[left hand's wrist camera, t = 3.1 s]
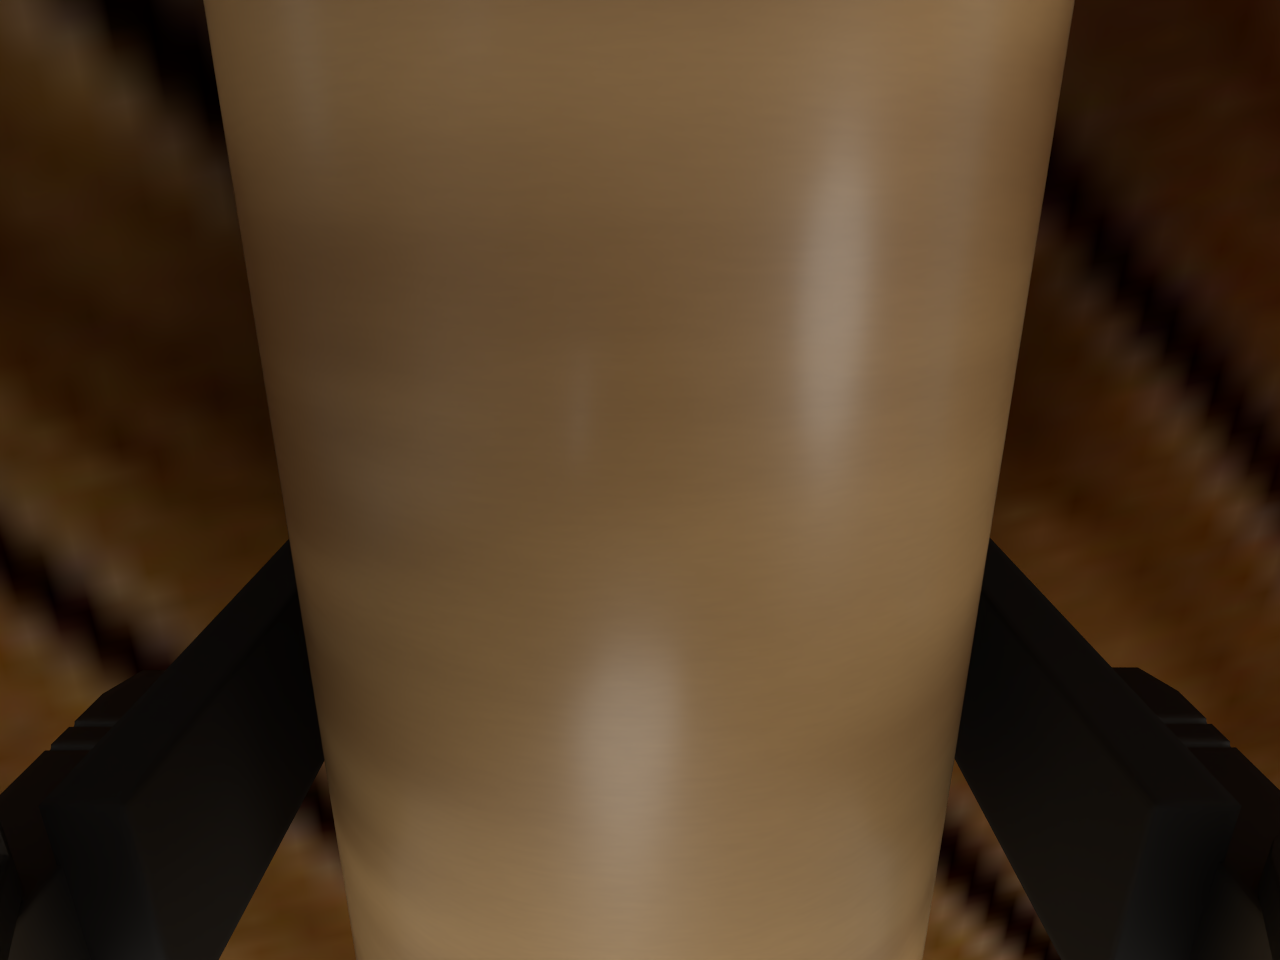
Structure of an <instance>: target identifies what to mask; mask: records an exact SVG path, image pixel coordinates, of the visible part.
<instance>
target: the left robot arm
mask: <svg viewBox="0 0 1280 960" xmlns="http://www.w3.org/2000/svg"><path fill="white" fill-rule="evenodd" d="M955 760H956V762H957V764H958V766H959V768H960V770H961V771H962V773H963V775H964V777H965V779H966V781H967V783H968V785H969V787H970V788H971V790H972V792H973V794H974V796H975V798H976V800H977V802H978V803H979V805H980V807H981V809H982V811H983V813H984V815H985V817H986V819H987V820H988V822H989V824H990V826H991V828H992V830H993V832H994V834H995V836H996V837H997V839H998V841H999V843H1000V845H1001V847H1002V849H1003V851H1004V852H1005V854H1006V856H1007V858H1008V860H1009V862H1010V864H1011V866H1012V868H1013V869H1014V871H1015V873H1016V875H1017V877H1018V879H1019V881H1020V883H1021V884H1022V886H1023V888H1024V890H1025V892H1026V894H1027V896H1028V898H1029V900H1030V901H1031V903H1032V905H1033V907H1034V909H1035V911H1036V913H1037V915H1038V917H1039V918H1040V920H1041V922H1042V924H1043V926H1044V928H1045V930H1046V932H1047V933H1048V935H1049V937H1050V939H1051V941H1052V943H1053V945H1054V947H1055V949H1056V950H1057V952H1058V954H1059V956H1060V958H1061V960H1280V790H1279V789H1278V788H1277V787H1276V786H1275V785H1274V784H1273V783H1272V782H1271V781H1270V780H1269V779H1268V778H1266V777H1265V776H1264V775H1263V774H1262V773H1261V772H1260V771H1259V770H1258V769H1257V768H1256V767H1255V766H1254V765H1253V764H1252V763H1251V762H1250V761H1249V760H1248V759H1247V758H1246V757H1245V756H1244V755H1243V754H1242V753H1241V752H1240V751H1239V750H1238V749H1237V748H1231V747H1230V741H1229V740H1228V739H1227V738H1226V737H1225V736H1223V735H1222V734H1221V733H1220V732H1219V731H1218V730H1217V729H1216V728H1215V727H1214V726H1213V725H1212V724H1207V723H1206V718H1205V717H1204V716H1203V715H1202V714H1201V713H1200V712H1199V711H1198V710H1197V709H1196V708H1195V707H1194V706H1193V705H1192V704H1191V703H1190V702H1189V701H1188V700H1187V699H1186V698H1185V697H1184V696H1183V695H1181V694H1180V693H1179V692H1178V691H1177V690H1175V689H1174V688H1172V687H1170V686H1168V685H1167V684H1165V683H1163V682H1162V681H1160V680H1158V679H1157V678H1155V677H1153V676H1151V675H1150V674H1148V673H1146V672H1145V671H1143V670H1141V669H1139V668H1112V667H1111V666H1110V665H1109V664H1108V663H1107V662H1106V661H1105V660H1104V659H1103V658H1102V657H1101V656H1100V655H1099V654H1098V652H1097V651H1096V650H1095V649H1094V648H1093V647H1092V646H1091V645H1090V644H1089V643H1088V642H1087V641H1086V640H1085V639H1084V638H1083V636H1082V635H1081V634H1080V633H1079V632H1078V631H1077V630H1076V629H1075V628H1074V627H1073V626H1072V625H1071V624H1070V623H1069V622H1068V621H1067V619H1066V618H1065V617H1064V616H1063V615H1062V614H1061V613H1060V612H1059V611H1058V610H1057V609H1056V608H1055V607H1054V606H1053V605H1052V603H1051V602H1050V601H1049V600H1048V599H1047V598H1046V597H1045V596H1044V595H1043V594H1042V593H1041V592H1040V591H1039V590H1038V589H1037V588H1036V586H1035V585H1034V584H1033V583H1032V582H1031V581H1030V580H1029V579H1028V578H1027V577H1026V576H1025V575H1024V574H1023V573H1022V572H1021V571H1020V569H1019V568H1018V567H1017V566H1016V565H1015V564H1014V563H1013V562H1012V561H1011V560H1010V559H1009V558H1008V557H1007V556H1006V555H1005V553H1004V552H1003V551H1002V550H1001V549H1000V548H999V547H998V546H997V545H996V544H995V543H994V542H993V541H992V540H991V539H990V538H989V543H988V550H987V556H986V562H985V569H984V575H983V581H982V587H981V594H980V600H979V606H978V613H977V619H976V625H975V632H974V638H973V644H972V650H971V657H970V663H969V669H968V676H967V682H966V688H965V695H964V701H963V707H962V713H961V720H960V726H959V732H958V739H957V745H956V751H955ZM323 762H324V754H323V747H322V741H321V735H320V728H319V722H318V716H317V710H316V703H315V697H314V691H313V685H312V678H311V672H310V666H309V659H308V653H307V647H306V641H305V634H304V628H303V622H302V616H301V609H300V603H299V597H298V590H297V584H296V578H295V572H294V565H293V559H292V553H291V547H290V540H288V541H287V542H286V543H285V544H284V545H283V546H282V547H281V548H280V549H279V550H278V551H277V552H276V553H275V555H274V556H273V557H272V558H271V559H270V560H269V561H268V562H267V563H266V564H265V565H264V566H263V567H262V568H261V569H260V570H259V572H258V573H257V574H256V575H255V576H254V577H253V578H252V579H251V580H250V581H249V582H248V583H247V584H246V585H245V586H244V588H243V589H242V590H241V591H240V592H239V593H238V594H237V595H236V596H235V597H234V598H233V599H232V600H231V601H230V602H229V603H228V605H227V606H226V607H225V608H224V609H223V610H222V611H221V612H220V613H219V614H218V615H217V616H216V617H215V618H214V619H213V621H212V622H211V623H210V624H209V625H208V626H207V627H206V628H205V629H204V630H203V631H202V632H201V633H200V634H199V635H198V636H197V638H196V639H195V640H194V641H193V642H192V643H191V644H190V645H189V646H188V647H187V648H186V649H185V650H184V651H183V652H182V653H181V655H180V656H179V657H178V658H177V659H176V660H175V661H174V662H173V663H172V664H171V665H170V666H169V667H168V668H167V669H166V670H143V671H141V672H139V673H137V674H136V675H134V676H132V677H131V678H129V679H127V680H126V681H124V682H122V683H120V684H119V685H117V686H115V687H114V688H112V689H110V690H109V691H107V692H105V693H103V694H102V695H101V696H100V697H99V698H98V699H97V700H96V701H95V702H94V703H93V704H92V705H91V706H90V707H89V708H88V709H87V710H86V711H85V712H84V713H83V714H82V715H81V716H80V717H79V718H78V719H77V720H76V721H75V725H74V727H69V728H68V729H67V730H66V731H65V732H64V733H62V734H61V735H60V736H59V737H58V738H57V739H56V740H55V741H54V742H53V743H52V744H51V750H50V751H44V752H43V753H42V754H41V755H40V756H39V757H38V758H37V759H36V760H35V761H34V762H33V763H32V764H31V765H30V766H29V767H28V768H27V769H26V770H25V771H24V772H23V773H22V774H21V775H20V776H19V777H18V778H17V779H16V780H15V781H14V782H13V783H12V784H11V785H10V786H9V787H8V788H7V789H6V790H5V791H4V792H2V793H1V794H0V960H219V958H220V956H221V954H222V952H223V950H224V949H225V947H226V945H227V943H228V941H229V939H230V937H231V935H232V933H233V932H234V930H235V928H236V926H237V924H238V922H239V920H240V918H241V916H242V915H243V913H244V911H245V909H246V907H247V905H248V903H249V901H250V900H251V898H252V896H253V894H254V892H255V890H256V888H257V886H258V884H259V883H260V881H261V879H262V877H263V875H264V873H265V871H266V869H267V868H268V866H269V864H270V862H271V860H272V858H273V856H274V854H275V852H276V851H277V849H278V847H279V845H280V843H281V841H282V839H283V837H284V835H285V834H286V832H287V830H288V828H289V826H290V824H291V822H292V820H293V819H294V817H295V815H296V813H297V811H298V809H299V807H300V805H301V803H302V802H303V800H304V798H305V796H306V794H307V792H308V790H309V788H310V786H311V785H312V783H313V781H314V779H315V777H316V775H317V773H318V771H319V770H320V768H321V766H322V764H323Z"/></svg>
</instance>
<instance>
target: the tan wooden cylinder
mask: <svg viewBox="0 0 1280 960" xmlns="http://www.w3.org/2000/svg"><path fill="white" fill-rule="evenodd" d="M203 1H204V7H205V14H206V20H207V26H208V32H209V39H210V45H211V51H212V58H213V64H214V70H215V76H216V83H217V89H218V95H219V101H220V108H221V114H222V120H223V126H224V133H225V139H226V145H227V152H228V158H229V164H230V170H231V177H232V183H233V189H234V195H235V202H236V208H237V214H238V221H239V227H240V233H241V239H242V246H243V252H244V258H245V264H246V271H247V277H248V283H249V290H250V296H251V302H252V308H253V315H254V321H255V327H256V333H257V340H258V346H259V352H260V358H261V365H262V371H263V377H264V384H265V390H266V396H267V402H268V409H269V415H270V421H271V427H272V434H273V440H274V446H275V453H276V459H277V465H278V471H279V478H280V484H281V490H282V496H283V503H284V509H285V515H286V522H287V528H288V534H289V540H290V547H291V553H292V559H293V565H294V572H295V578H296V584H297V590H298V597H299V603H300V609H301V616H302V622H303V628H304V634H305V641H306V647H307V653H308V659H309V666H310V672H311V678H312V685H313V691H314V697H315V703H316V710H317V716H318V722H319V728H320V735H321V741H322V747H323V754H324V760H325V766H326V772H327V779H328V785H329V791H330V797H331V804H332V810H333V816H334V823H335V829H336V835H337V841H338V848H339V854H340V860H341V866H342V873H343V879H344V885H345V891H346V898H347V904H348V910H349V917H350V923H351V929H352V935H353V942H354V948H355V954H356V960H922V959H923V953H924V947H925V940H926V934H927V928H928V921H929V915H930V909H931V902H932V896H933V890H934V884H935V877H936V871H937V865H938V858H939V852H940V846H941V839H942V833H943V827H944V821H945V814H946V808H947V802H948V795H949V789H950V783H951V776H952V770H953V764H954V758H955V751H956V745H957V739H958V732H959V726H960V720H961V713H962V707H963V701H964V695H965V688H966V682H967V676H968V669H969V663H970V657H971V650H972V644H973V638H974V632H975V625H976V619H977V613H978V606H979V600H980V594H981V587H982V581H983V575H984V569H985V562H986V556H987V550H988V543H989V537H990V531H991V524H992V518H993V512H994V506H995V499H996V493H997V487H998V480H999V474H1000V468H1001V461H1002V455H1003V449H1004V442H1005V436H1006V430H1007V424H1008V417H1009V411H1010V405H1011V398H1012V392H1013V386H1014V379H1015V373H1016V367H1017V361H1018V354H1019V348H1020V342H1021V335H1022V329H1023V323H1024V316H1025V310H1026V304H1027V298H1028V291H1029V285H1030V279H1031V272H1032V266H1033V260H1034V253H1035V247H1036V241H1037V235H1038V228H1039V222H1040V216H1041V209H1042V203H1043V197H1044V190H1045V184H1046V178H1047V172H1048V165H1049V159H1050V153H1051V146H1052V140H1053V134H1054V127H1055V121H1056V115H1057V109H1058V102H1059V96H1060V90H1061V83H1062V77H1063V71H1064V64H1065V58H1066V52H1067V46H1068V39H1069V33H1070V27H1071V20H1072V14H1073V8H1074V1H1075V0H203Z"/></svg>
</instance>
